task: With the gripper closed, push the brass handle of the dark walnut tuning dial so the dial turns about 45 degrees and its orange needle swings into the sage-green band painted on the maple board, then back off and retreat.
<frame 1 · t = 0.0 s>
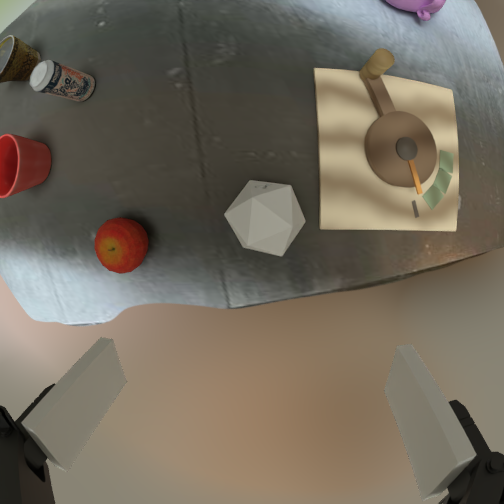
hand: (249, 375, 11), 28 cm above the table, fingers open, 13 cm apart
die: (267, 213, 38), on the table
dial: (401, 124, 28), point 5 cm above the table, hinge at 0.0°
board: (394, 150, 33), on the table
ceramic cup: (27, 71, 33), on the table
beer can: (86, 89, 34), on the table
apple: (135, 237, 40), on the table
flower pot: (40, 163, 39), on the table
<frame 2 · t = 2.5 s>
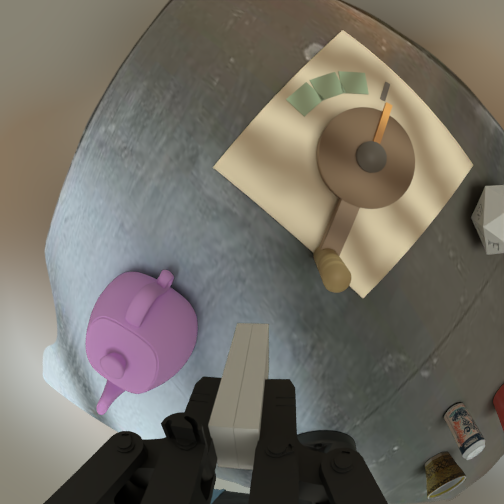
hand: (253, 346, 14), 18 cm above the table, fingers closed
die: (484, 214, 27), on the table
dial: (363, 187, 24), point 5 cm above the table, hinge at 0.0°
board: (359, 159, 28), on the table
ceramic cup: (440, 458, 41), on the table
beer can: (452, 409, 36), on the table
teapot: (151, 322, 36), on the table
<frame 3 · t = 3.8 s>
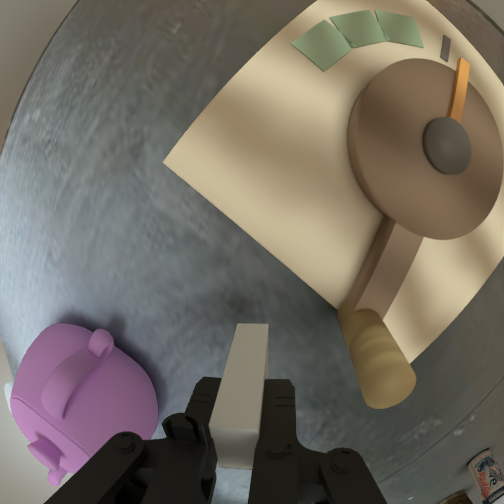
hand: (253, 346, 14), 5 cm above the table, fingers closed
dial: (439, 201, 11), point 5 cm above the table, hinge at 0.0°
board: (413, 150, 15), on the table
ceramic cup: (454, 496, 28), on the table
beer can: (477, 456, 23), on the table
teapot: (103, 382, 23), on the table
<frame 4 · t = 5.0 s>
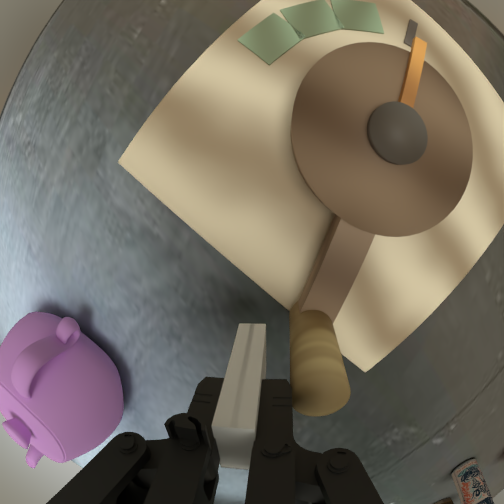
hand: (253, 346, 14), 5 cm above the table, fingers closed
dial: (384, 194, 11), point 5 cm above the table, hinge at 1.8°, touching gripper
board: (371, 141, 15), on the table
ceramic cup: (440, 503, 28), on the table
beer can: (462, 465, 24), on the table
teapot: (78, 370, 23), on the table
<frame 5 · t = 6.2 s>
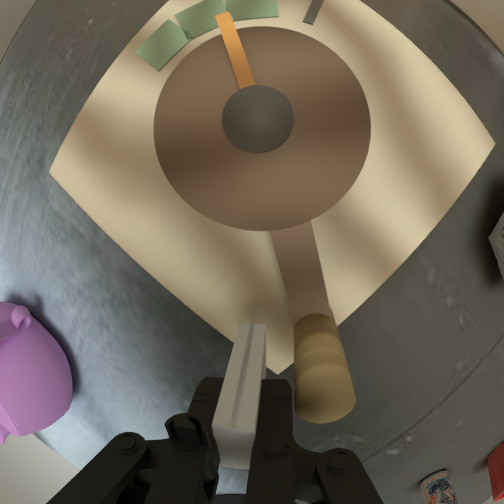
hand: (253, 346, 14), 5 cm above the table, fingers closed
dial: (278, 188, 11), point 5 cm above the table, hinge at 36.9°, touching gripper
board: (264, 131, 15), on the table
beer can: (433, 475, 24), on the table
teapot: (40, 356, 24), on the table
flower pot: (503, 446, 22), on the table
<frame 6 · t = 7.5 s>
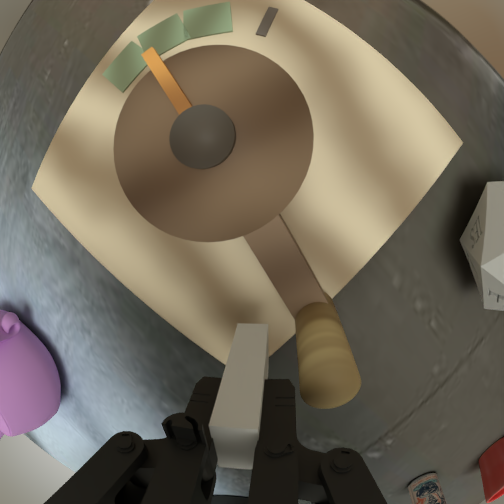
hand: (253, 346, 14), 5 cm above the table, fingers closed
die: (485, 232, 16), on the table
dial: (234, 194, 12), point 5 cm above the table, hinge at 51.0°
board: (220, 145, 16), on the table
beer can: (421, 478, 25), on the table
teapot: (31, 360, 24), on the table
flower pot: (495, 447, 23), on the table
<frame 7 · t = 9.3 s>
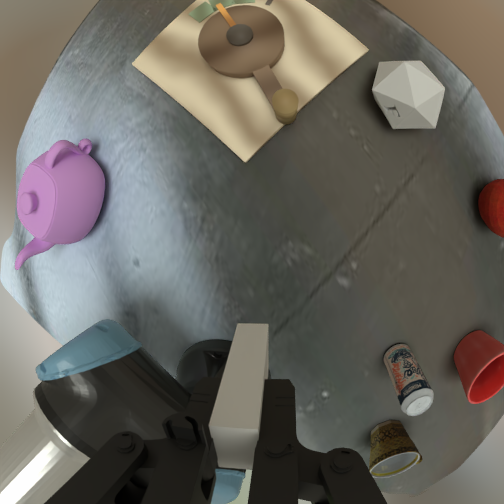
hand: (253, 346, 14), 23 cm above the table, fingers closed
die: (395, 100, 28), on the table
dial: (251, 50, 24), point 5 cm above the table, hinge at 51.0°
board: (245, 48, 28), on the table
ceramic cup: (391, 428, 44), on the table
beer can: (395, 353, 38), on the table
apple: (486, 202, 30), on the table
teapot: (77, 197, 37), on the table
flower pot: (469, 347, 37), on the table
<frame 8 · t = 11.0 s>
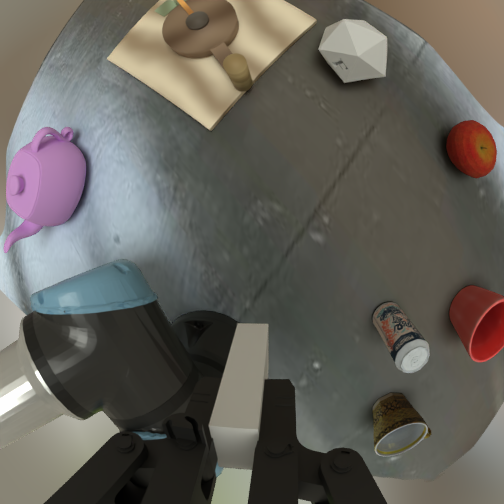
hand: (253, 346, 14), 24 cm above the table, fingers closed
die: (347, 61, 30), on the table
dial: (206, 31, 26), point 5 cm above the table, hinge at 51.0°
board: (205, 33, 30), on the table
ceramic cup: (394, 403, 44), on the table
beer can: (385, 314, 39), on the table
apple: (456, 149, 31), on the table
teapot: (62, 185, 38), on the table
flower pot: (464, 305, 37), on the table
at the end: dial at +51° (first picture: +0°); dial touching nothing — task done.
